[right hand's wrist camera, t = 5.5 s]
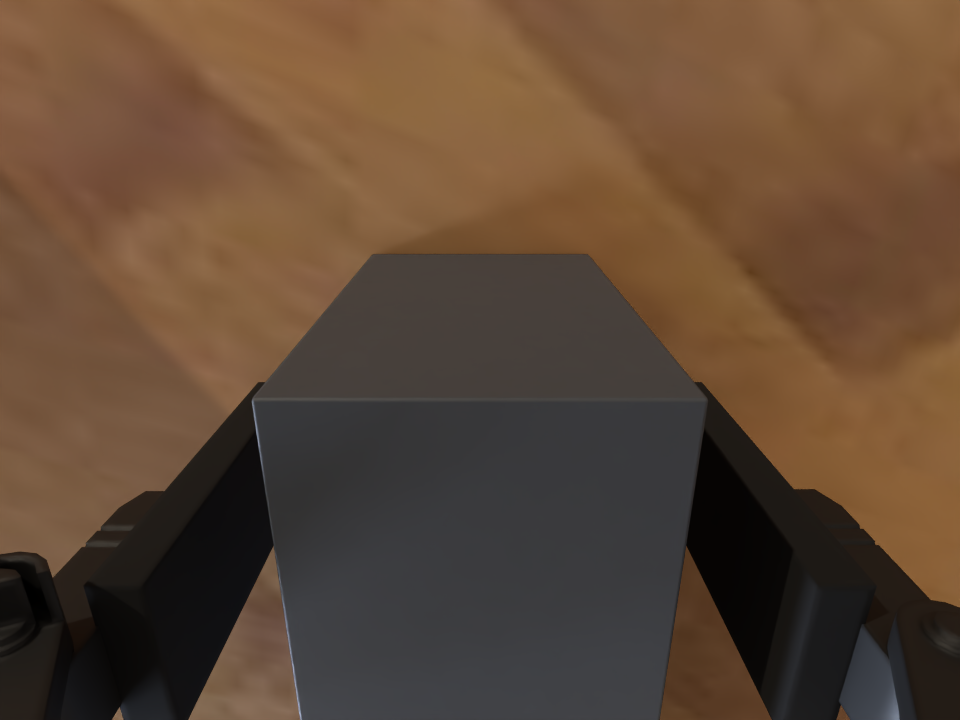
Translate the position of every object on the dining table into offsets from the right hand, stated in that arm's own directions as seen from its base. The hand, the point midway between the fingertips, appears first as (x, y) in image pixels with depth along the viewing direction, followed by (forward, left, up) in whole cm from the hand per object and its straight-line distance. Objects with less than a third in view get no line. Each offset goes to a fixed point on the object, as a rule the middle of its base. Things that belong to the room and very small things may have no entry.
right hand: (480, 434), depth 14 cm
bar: (-11, -18, -1) cm, 21 cm away
